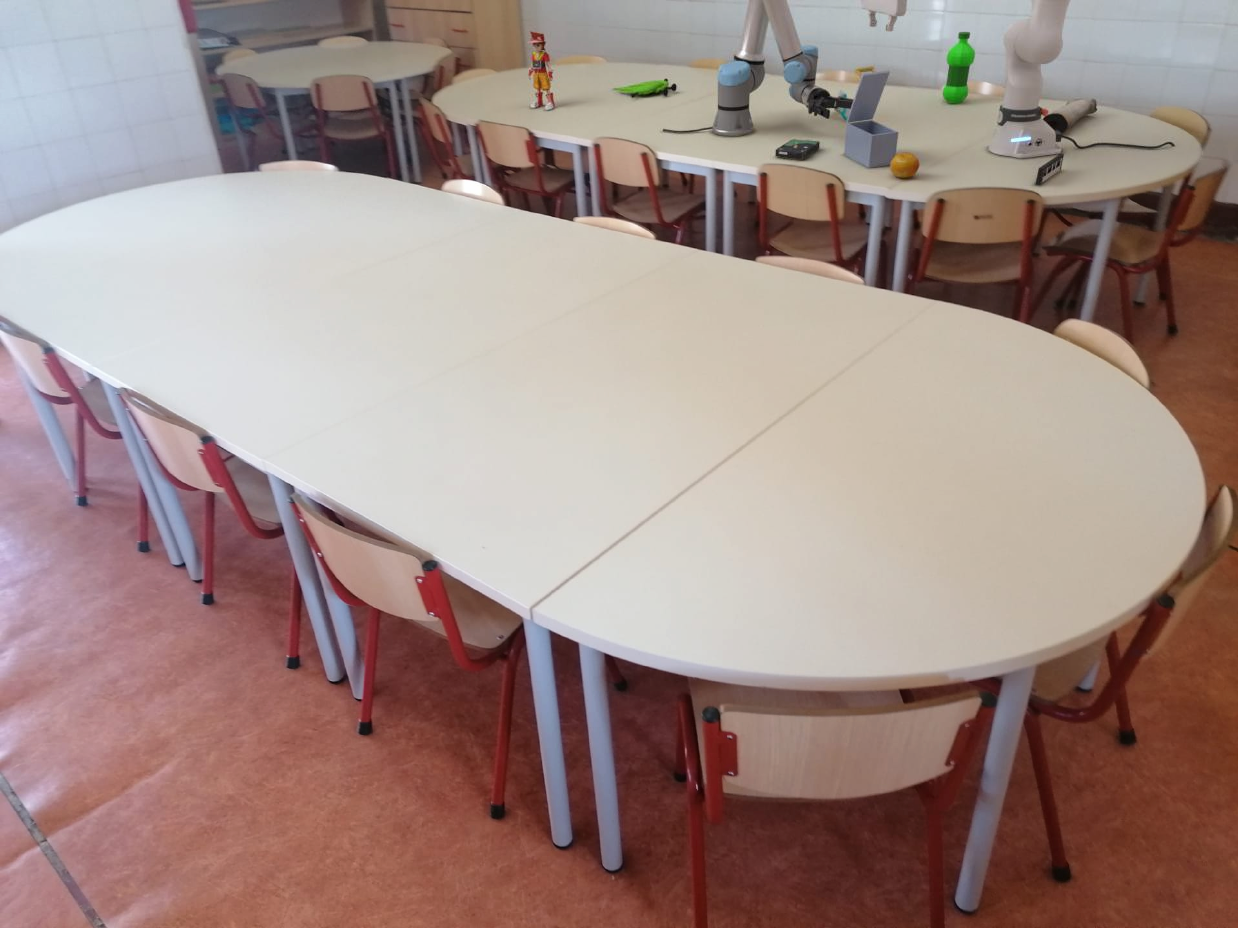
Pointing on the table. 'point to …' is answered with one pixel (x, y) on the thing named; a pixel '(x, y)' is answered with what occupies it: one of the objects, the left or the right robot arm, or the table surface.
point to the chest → (870, 143)
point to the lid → (867, 94)
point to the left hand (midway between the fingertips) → (846, 112)
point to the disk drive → (797, 149)
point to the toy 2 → (648, 88)
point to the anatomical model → (843, 111)
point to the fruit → (904, 165)
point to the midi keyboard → (1049, 169)
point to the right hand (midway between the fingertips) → (880, 29)
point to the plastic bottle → (958, 69)
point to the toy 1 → (541, 71)
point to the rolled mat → (1070, 113)
